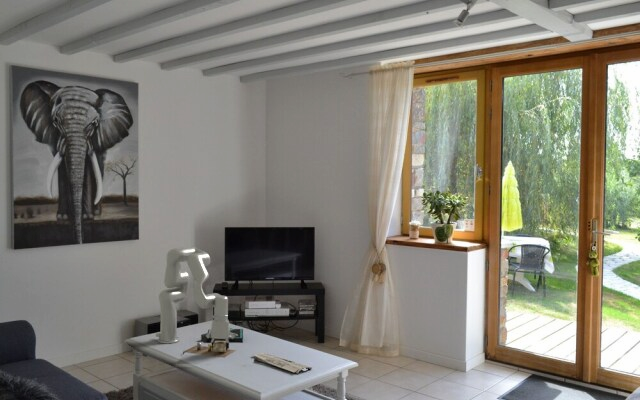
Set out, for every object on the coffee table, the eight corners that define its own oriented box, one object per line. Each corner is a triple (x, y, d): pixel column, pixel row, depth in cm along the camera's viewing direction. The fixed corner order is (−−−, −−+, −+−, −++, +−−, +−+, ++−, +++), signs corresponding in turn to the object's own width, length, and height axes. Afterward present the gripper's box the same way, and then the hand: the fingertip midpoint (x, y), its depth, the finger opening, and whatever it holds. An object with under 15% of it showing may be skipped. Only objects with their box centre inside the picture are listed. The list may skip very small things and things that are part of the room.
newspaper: (311, 370, 304) (311, 363, 304) (295, 376, 294) (295, 369, 294) (265, 356, 327) (265, 349, 327) (249, 361, 318) (249, 354, 318)
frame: (212, 351, 322) (212, 344, 322) (214, 347, 329) (215, 340, 329) (225, 351, 322) (225, 344, 322) (227, 348, 329) (227, 341, 329)
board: (182, 354, 326) (183, 345, 326) (196, 347, 339) (196, 338, 339) (224, 360, 317) (224, 350, 317) (236, 352, 330) (236, 343, 330)
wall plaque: (190, 341, 354) (224, 350, 336) (190, 334, 354) (224, 343, 336) (225, 331, 378) (259, 339, 360) (226, 325, 378) (259, 333, 360)
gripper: (204, 319, 321) (203, 351, 322) (235, 320, 321) (234, 351, 322) (206, 316, 329) (205, 346, 330) (237, 316, 329) (236, 347, 330)
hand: (220, 349), depth 326 cm, fingers closed on frame, 7 cm apart
